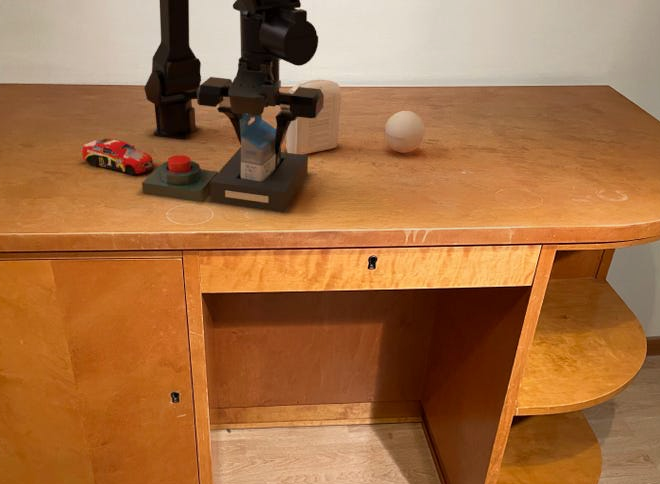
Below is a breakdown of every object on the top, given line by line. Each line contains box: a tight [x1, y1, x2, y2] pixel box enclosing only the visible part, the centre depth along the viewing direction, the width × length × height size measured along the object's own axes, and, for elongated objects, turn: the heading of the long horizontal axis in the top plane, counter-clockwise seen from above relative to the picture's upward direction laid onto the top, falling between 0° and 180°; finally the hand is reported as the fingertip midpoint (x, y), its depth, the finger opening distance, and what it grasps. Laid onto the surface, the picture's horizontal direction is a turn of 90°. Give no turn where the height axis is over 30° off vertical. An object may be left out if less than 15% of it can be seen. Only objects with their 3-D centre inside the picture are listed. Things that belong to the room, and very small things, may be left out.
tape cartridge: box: [240, 113, 282, 183], centre depth 113 cm, size 9×4×12 cm, turn 161°
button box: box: [141, 160, 219, 203], centre depth 115 cm, size 10×8×4 cm
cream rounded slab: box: [285, 78, 342, 155], centre depth 127 cm, size 10×4×12 cm, turn 123°
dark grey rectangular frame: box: [210, 146, 309, 213], centre depth 115 cm, size 12×15×4 cm
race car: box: [81, 138, 154, 177], centre depth 121 cm, size 13×5×4 cm, turn 63°
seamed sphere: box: [375, 110, 425, 154], centre depth 129 cm, size 10×7×7 cm
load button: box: [167, 154, 192, 173], centre depth 113 cm, size 4×4×2 cm
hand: (260, 151), depth 113 cm, fingers open, 5 cm apart
